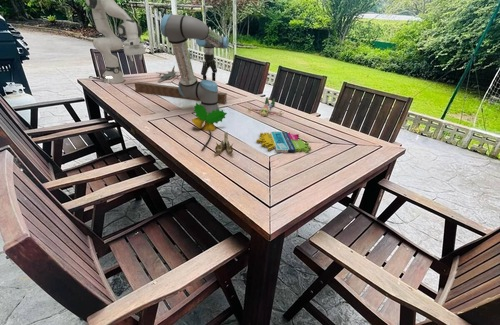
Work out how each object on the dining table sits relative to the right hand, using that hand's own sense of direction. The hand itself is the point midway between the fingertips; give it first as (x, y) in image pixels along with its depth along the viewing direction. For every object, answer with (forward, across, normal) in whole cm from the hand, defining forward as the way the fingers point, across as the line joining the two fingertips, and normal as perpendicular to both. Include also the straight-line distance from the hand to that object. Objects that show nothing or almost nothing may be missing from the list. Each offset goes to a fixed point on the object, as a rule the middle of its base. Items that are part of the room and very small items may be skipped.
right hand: (209, 82), depth 210 cm
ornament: (+16, +52, +32) cm, 63 cm away
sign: (+16, +48, +78) cm, 93 cm away
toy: (+15, -2, +50) cm, 52 cm away
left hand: (-10, +10, -65) cm, 66 cm away
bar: (+15, +5, -26) cm, 31 cm away
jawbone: (+16, +75, +55) cm, 94 cm away
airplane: (+15, -45, -78) cm, 91 cm away
